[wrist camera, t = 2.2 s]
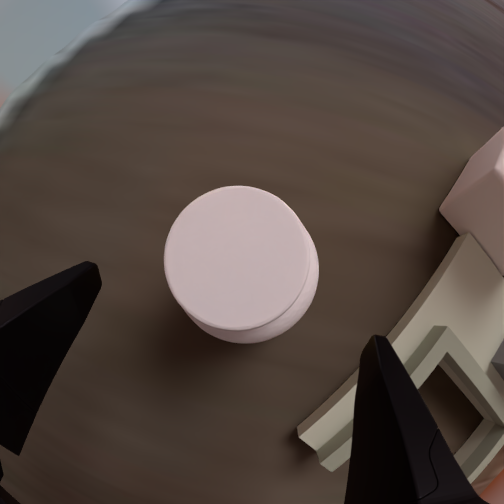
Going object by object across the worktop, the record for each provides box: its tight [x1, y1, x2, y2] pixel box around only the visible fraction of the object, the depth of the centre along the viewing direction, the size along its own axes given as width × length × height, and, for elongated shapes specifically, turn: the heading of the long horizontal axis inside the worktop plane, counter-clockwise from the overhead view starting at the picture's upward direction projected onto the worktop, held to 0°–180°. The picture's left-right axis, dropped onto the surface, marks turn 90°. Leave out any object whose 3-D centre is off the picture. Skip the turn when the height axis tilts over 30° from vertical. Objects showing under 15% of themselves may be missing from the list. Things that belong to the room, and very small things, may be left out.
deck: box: [297, 232, 504, 484], centre depth 12 cm, size 16×14×6 cm
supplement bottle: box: [164, 186, 319, 344], centre depth 12 cm, size 5×5×10 cm
